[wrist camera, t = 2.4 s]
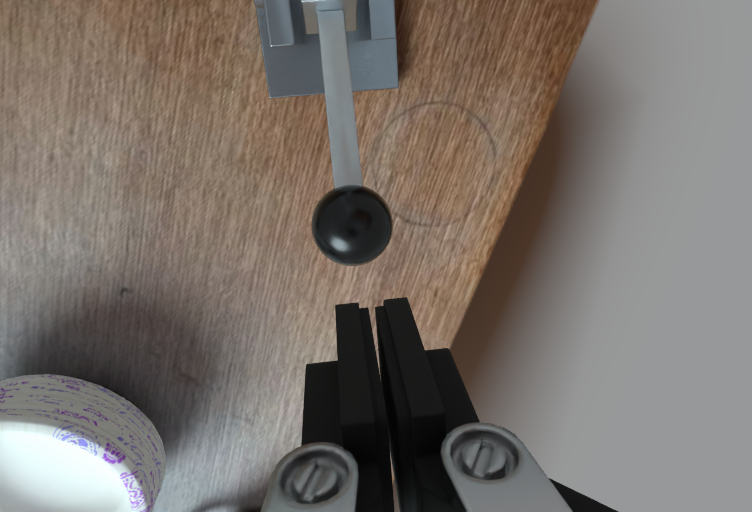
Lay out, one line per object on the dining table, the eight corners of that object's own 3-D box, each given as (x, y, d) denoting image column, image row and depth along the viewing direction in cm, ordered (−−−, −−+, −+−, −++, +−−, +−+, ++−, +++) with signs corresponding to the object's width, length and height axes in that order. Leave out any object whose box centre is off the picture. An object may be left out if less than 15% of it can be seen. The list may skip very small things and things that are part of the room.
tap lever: (393, 264, 21) (401, 258, 18) (318, 272, 21) (312, 267, 17) (361, -25, 22) (363, -80, 19) (289, -20, 22) (279, -75, 18)
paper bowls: (215, 411, 40) (191, 492, 33) (115, 520, 44) (74, 614, 36) (33, 311, 35) (-42, 380, 28) (-62, 443, 39) (-151, 535, 31)
